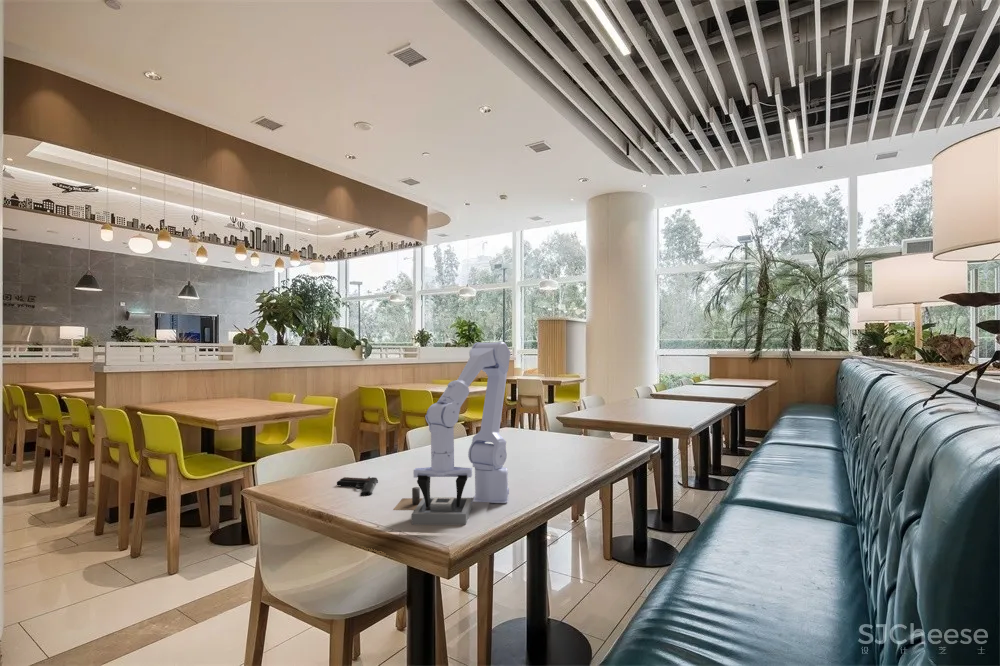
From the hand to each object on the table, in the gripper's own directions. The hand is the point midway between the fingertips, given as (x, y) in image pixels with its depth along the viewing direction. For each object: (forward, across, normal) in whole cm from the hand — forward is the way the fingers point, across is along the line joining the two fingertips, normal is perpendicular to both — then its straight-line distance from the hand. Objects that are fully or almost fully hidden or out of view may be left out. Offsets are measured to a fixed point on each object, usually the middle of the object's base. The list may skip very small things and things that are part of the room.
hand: (443, 505), depth 124 cm
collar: (+2, 0, 0) cm, 2 cm away
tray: (+3, 0, 0) cm, 3 cm away
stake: (+3, -9, +9) cm, 13 cm away
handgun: (+4, -31, +25) cm, 40 cm away
